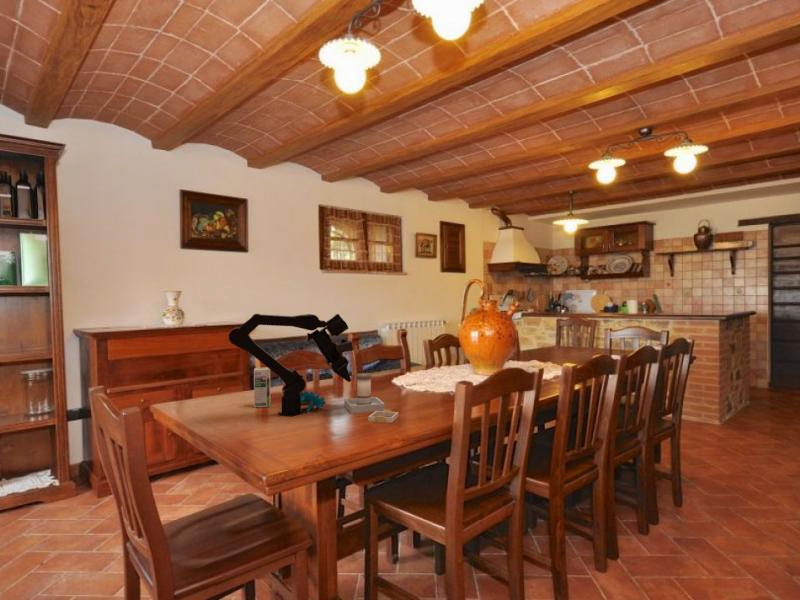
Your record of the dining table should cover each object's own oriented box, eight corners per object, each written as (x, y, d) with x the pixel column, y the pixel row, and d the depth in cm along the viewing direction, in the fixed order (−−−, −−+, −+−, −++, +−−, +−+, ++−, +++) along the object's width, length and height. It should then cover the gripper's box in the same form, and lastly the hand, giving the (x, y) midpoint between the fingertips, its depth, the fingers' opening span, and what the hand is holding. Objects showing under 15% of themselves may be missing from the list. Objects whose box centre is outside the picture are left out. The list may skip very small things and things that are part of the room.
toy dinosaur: (330, 404, 174) (317, 388, 168) (326, 418, 170) (312, 402, 164) (306, 405, 178) (292, 390, 172) (301, 419, 174) (286, 404, 168)
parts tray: (350, 413, 166) (350, 406, 166) (344, 405, 178) (344, 399, 178) (384, 410, 170) (384, 403, 170) (376, 403, 182) (376, 397, 182)
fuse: (371, 408, 171) (371, 375, 171) (356, 408, 171) (356, 375, 171) (371, 404, 177) (371, 373, 177) (357, 405, 177) (357, 373, 177)
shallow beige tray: (367, 421, 154) (367, 415, 154) (376, 414, 164) (376, 409, 164) (391, 423, 152) (391, 417, 152) (399, 416, 162) (398, 410, 162)
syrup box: (253, 408, 175) (253, 369, 175) (255, 404, 181) (255, 367, 181) (269, 407, 176) (269, 368, 176) (270, 403, 182) (270, 366, 182)
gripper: (348, 334, 163) (371, 371, 166) (339, 329, 181) (360, 362, 184) (321, 352, 161) (345, 389, 163) (315, 345, 179) (336, 379, 181)
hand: (347, 379), depth 173 cm, fingers open, 9 cm apart
